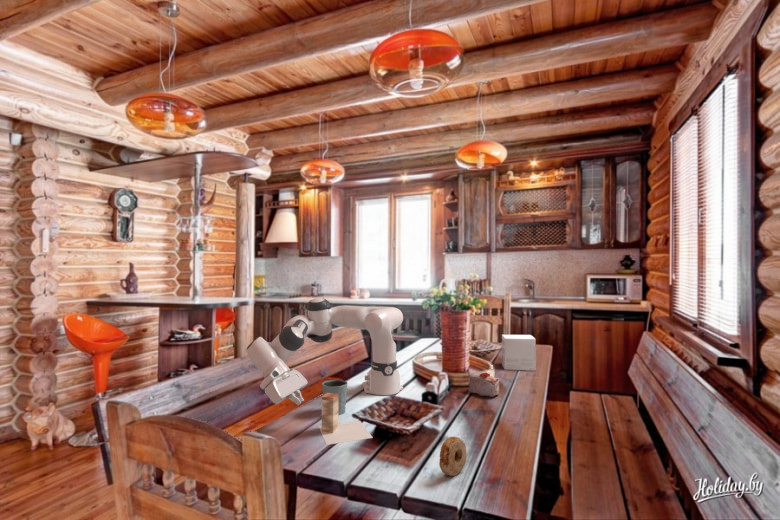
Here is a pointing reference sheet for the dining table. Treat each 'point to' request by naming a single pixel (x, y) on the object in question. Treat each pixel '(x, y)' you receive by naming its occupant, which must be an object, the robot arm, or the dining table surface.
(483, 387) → the food item
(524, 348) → the supplement box
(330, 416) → the birch block
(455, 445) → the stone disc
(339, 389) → the grey green cup
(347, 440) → the felt mat
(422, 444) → the dining table surface
